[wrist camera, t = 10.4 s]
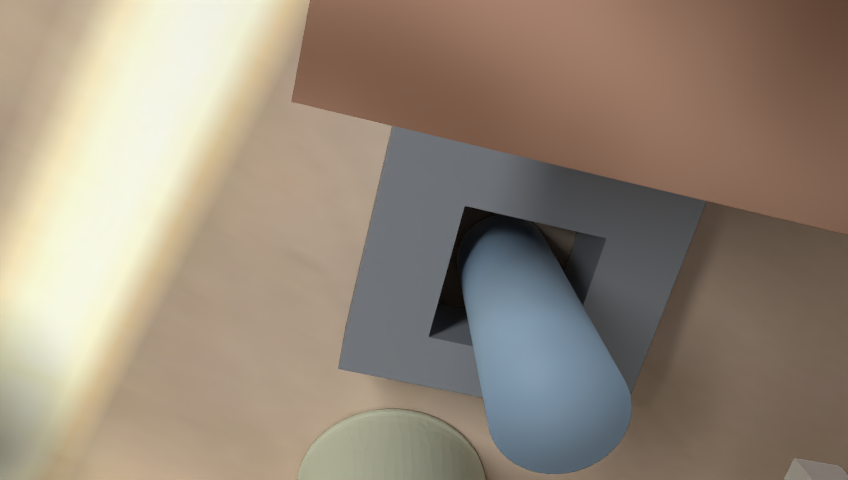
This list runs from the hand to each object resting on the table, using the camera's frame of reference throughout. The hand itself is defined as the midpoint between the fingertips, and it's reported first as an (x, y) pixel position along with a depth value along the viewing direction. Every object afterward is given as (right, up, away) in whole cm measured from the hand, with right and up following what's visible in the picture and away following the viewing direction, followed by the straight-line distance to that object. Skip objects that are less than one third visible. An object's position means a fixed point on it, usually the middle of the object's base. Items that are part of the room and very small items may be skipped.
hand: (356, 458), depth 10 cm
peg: (+4, +2, +20) cm, 21 cm away
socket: (+5, +5, +19) cm, 21 cm away
